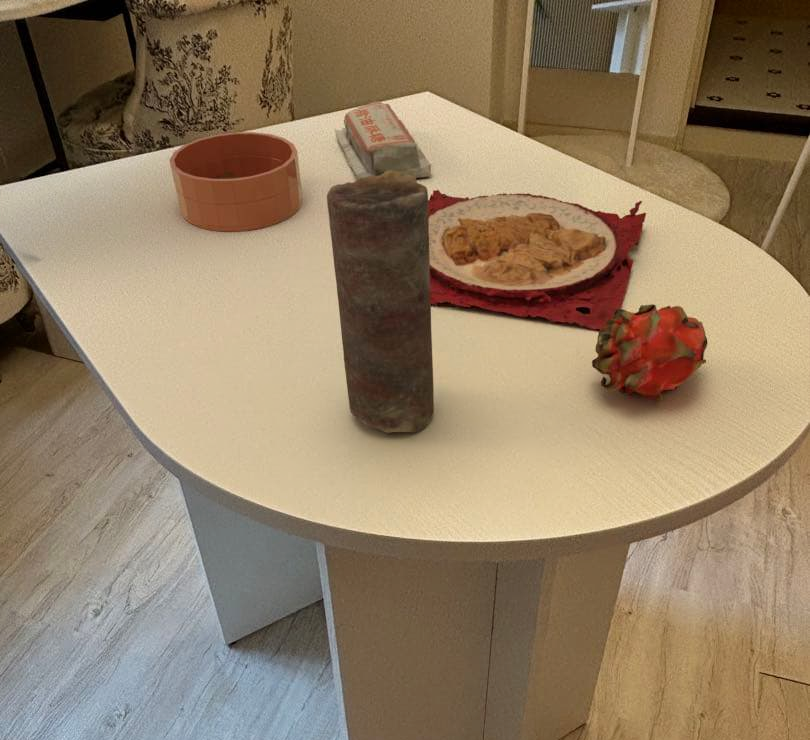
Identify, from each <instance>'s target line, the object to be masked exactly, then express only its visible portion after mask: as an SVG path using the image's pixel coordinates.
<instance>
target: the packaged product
mask: <svg viewBox="0 0 810 740" xmlns="http://www.w3.org/2000/svg"><path fill="white" fill-rule="evenodd" d="M343 124H344V127H342V129H341V130H340V129H336V128H335V129H334V133H335V137H336V139H337V141H338V143H339V144H340V147H341V149H342V150H343V153H344V155H345V158H346V160H347V163H348V167H349V168H351V169H352V171H353V173H354V175H355V177H356V180H358V179H361V178H367V177H372V176H380V175H382V174H383V173H385V172H386V171H390V170H393V171H397V172H403V173H407V174H409V175H411V176H415V177H416V179H418V178H427V177H428V178H429V177H431V172H432V171H431V169H432V164H430V161H429V160H428V159H427V157H426V156H425V154H424V153H423V152H422V151H423V150H422V149H421V148H420V146H419V145H418V143H416V140H415V139H414V138H413V136H412V134H411V133H410V131H409V130H408V128H407V126H406V125H405V124H404V122H403V121H402V119H399V117H398V115H397V114H396V113H395V111H394V110H393V109H392V107H391V106H390V103H385V102H381V101H372V102H370V103H368V104H364V105H363V106H360V107H357V108H355V109H352V110H350V111H348V112H347V113H345V115H344V117H343Z"/></svg>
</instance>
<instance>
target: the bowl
mask: <svg viewBox="0 0 810 740" xmlns="http://www.w3.org/2000/svg"><path fill="white" fill-rule="evenodd" d="M299 163H300V162H299V153H298V149H297V148H296V146H295V144H294V143H293V142H291V141H290V140H288V139H286V138H285V137H282V136H279V135H275V134H272V133H271V134H270V133H266V132H265V133H263V132H256V131H255V132H254V131H243V132H242V131H234V132H228V133H227V132H226V133H219V134H214V135H210V136H205V137H202V138H197V139H194V140H193V141H190V142H188V143H186V144H183V145H182V146H180V147H179V148H178V149H175V151H174V152H173V153H172V155H171V156H170V158H169V165H170V170H171V174H172V178H173V183H174V187H175V192H176V196H177V201H178V205H179V209H180V213H181V216H182V217H183V218H184V220H185V221H186V222H187V223H189V224H191V225H193V226H195V227H198V228H201V229H205V230H209V231H217V232H244V231H245V232H246V231H253V230H258V229H262V228H267V227H271V226H274V225H277V224H279V223H281V222H283V221H285V220H287V219H289V218H291V217H292V216H293V215H295V214H296V213H297V212H298V211H299V210H300V208H301V206H302V203H303V191H302V190H303V189H302V180H301V172H300V171H301V170H300V164H299ZM229 172H232V173H233V174H234V175H236V176H237V177H238V178H234V179H217V175H221V174H225V173H229Z"/></svg>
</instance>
